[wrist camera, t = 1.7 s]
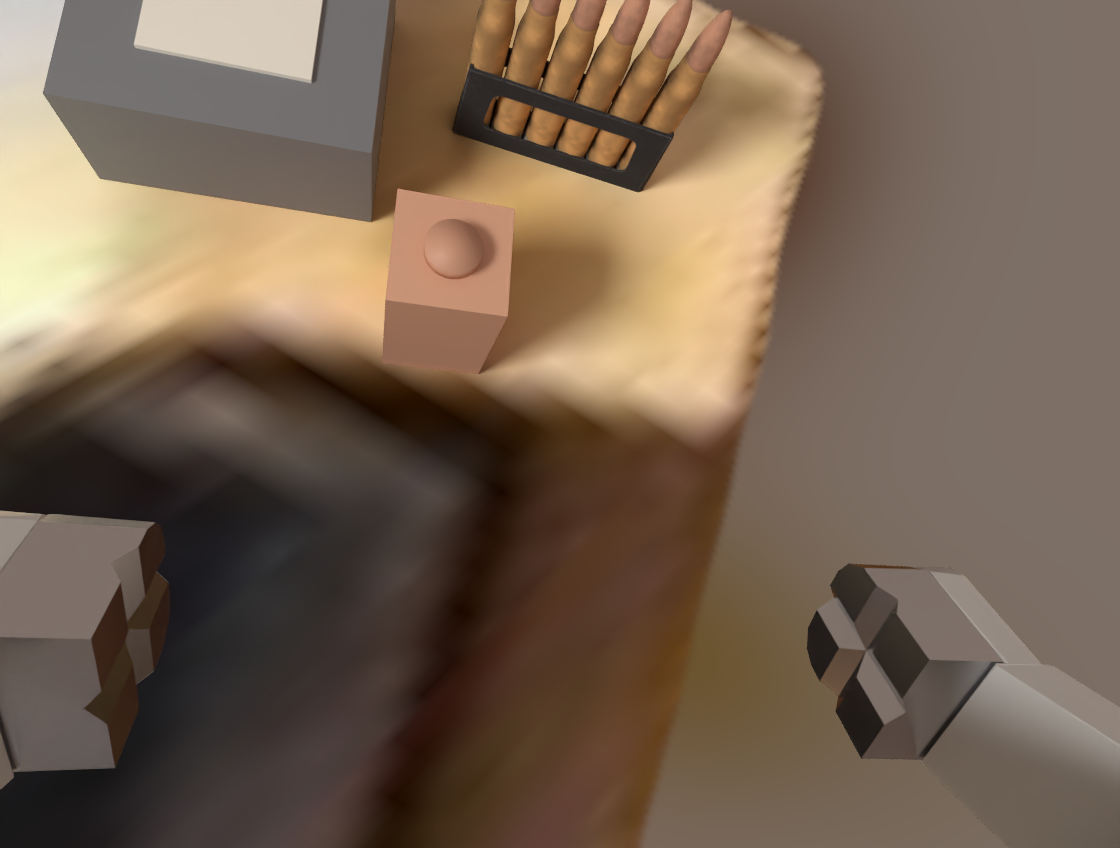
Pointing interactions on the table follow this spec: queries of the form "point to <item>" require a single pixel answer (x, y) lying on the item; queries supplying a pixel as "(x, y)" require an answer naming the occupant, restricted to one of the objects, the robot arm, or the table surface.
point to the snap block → (446, 282)
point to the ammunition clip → (583, 86)
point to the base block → (229, 96)
